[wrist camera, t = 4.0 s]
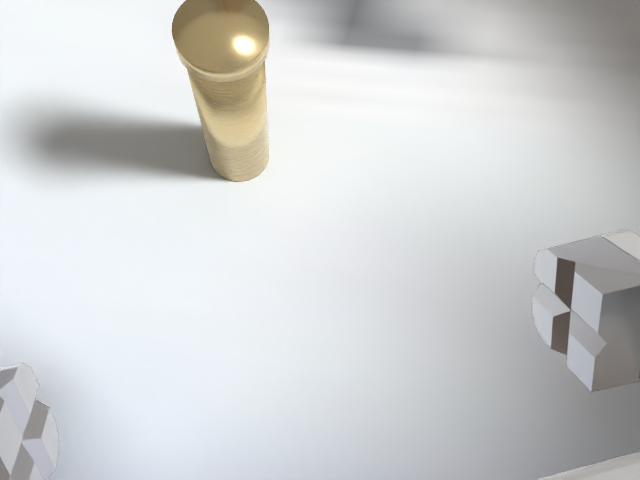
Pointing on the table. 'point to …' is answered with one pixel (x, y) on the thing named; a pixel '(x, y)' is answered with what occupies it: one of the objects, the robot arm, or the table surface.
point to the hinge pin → (227, 80)
